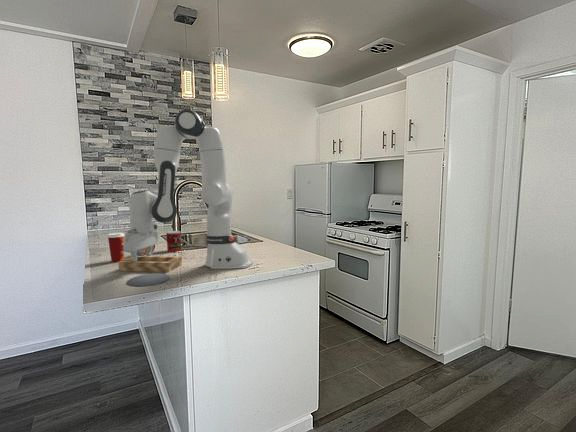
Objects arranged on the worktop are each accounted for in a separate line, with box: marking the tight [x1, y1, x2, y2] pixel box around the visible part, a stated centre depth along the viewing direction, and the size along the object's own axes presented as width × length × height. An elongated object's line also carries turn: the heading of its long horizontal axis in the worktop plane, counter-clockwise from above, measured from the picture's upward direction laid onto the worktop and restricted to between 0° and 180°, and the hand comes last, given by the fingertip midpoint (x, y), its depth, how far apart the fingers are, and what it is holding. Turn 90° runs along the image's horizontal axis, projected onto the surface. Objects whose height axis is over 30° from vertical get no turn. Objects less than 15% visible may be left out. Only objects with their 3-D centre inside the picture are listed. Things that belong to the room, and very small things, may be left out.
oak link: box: [117, 255, 183, 273], centre depth 149 cm, size 24×12×4 cm, turn 82°
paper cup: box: [107, 232, 125, 263], centre depth 163 cm, size 8×8×14 cm
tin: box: [138, 245, 156, 256], centre depth 178 cm, size 15×3×8 cm, turn 168°
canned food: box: [166, 230, 182, 253], centre depth 186 cm, size 8×8×11 cm
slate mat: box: [126, 272, 171, 287], centre depth 130 cm, size 16×16×1 cm
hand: (142, 258), depth 144 cm, fingers open, 8 cm apart
